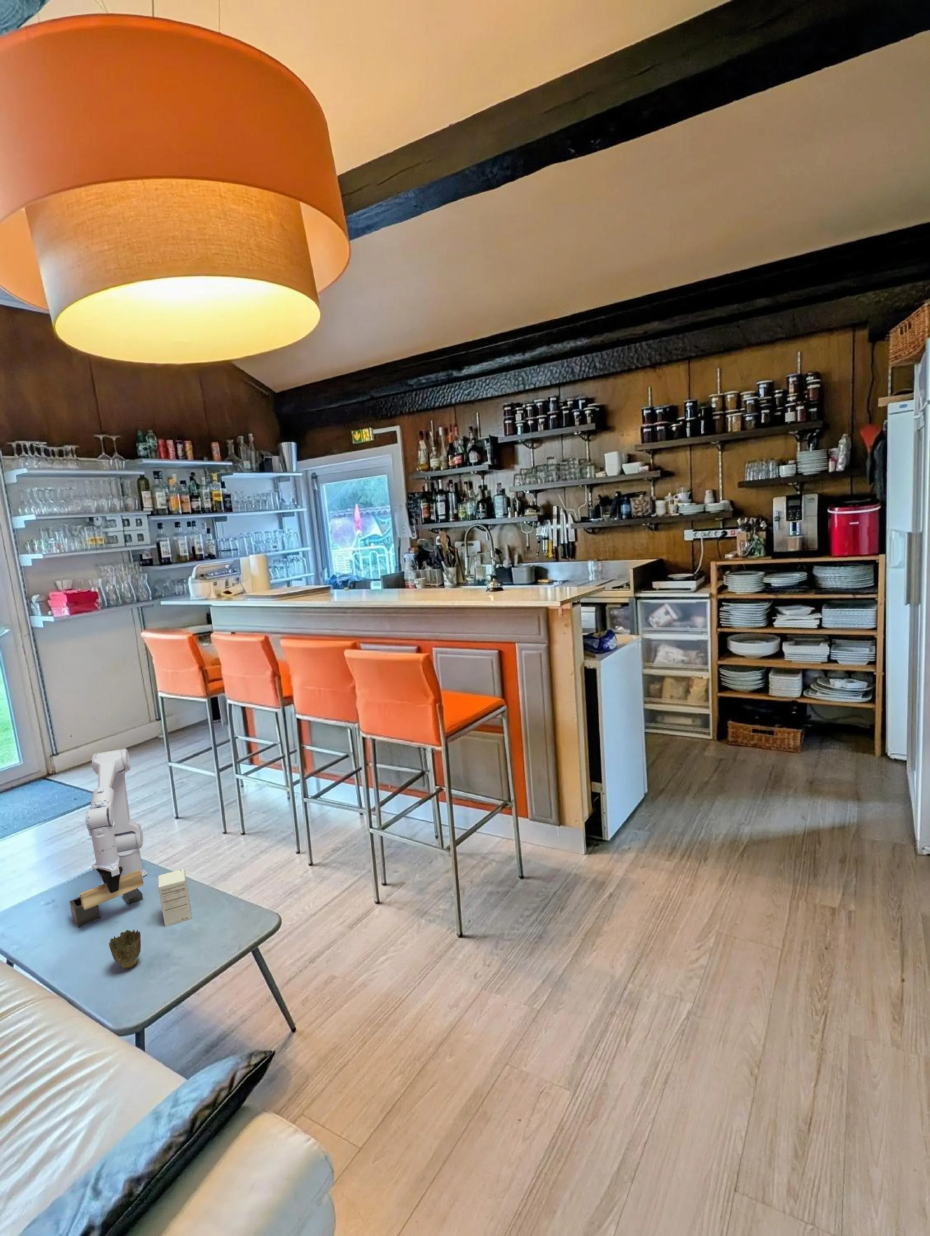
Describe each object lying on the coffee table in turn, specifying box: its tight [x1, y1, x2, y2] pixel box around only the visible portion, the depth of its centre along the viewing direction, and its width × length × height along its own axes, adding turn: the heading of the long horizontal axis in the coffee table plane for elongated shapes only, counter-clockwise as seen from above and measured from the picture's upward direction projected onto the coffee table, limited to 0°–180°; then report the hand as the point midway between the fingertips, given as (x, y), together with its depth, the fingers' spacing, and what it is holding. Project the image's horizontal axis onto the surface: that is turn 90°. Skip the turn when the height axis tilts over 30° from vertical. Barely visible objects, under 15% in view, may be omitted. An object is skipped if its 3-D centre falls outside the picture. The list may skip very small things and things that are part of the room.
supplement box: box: [157, 868, 192, 927], centre depth 189 cm, size 7×7×13 cm
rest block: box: [122, 888, 144, 906], centre depth 201 cm, size 6×4×2 cm, turn 44°
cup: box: [108, 929, 142, 970], centre depth 169 cm, size 8×7×8 cm
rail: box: [79, 870, 144, 910], centre depth 190 cm, size 3×16×4 cm, turn 134°
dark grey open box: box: [69, 896, 101, 928], centre depth 192 cm, size 6×6×6 cm
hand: (112, 889), depth 190 cm, fingers closed on rail, 3 cm apart
